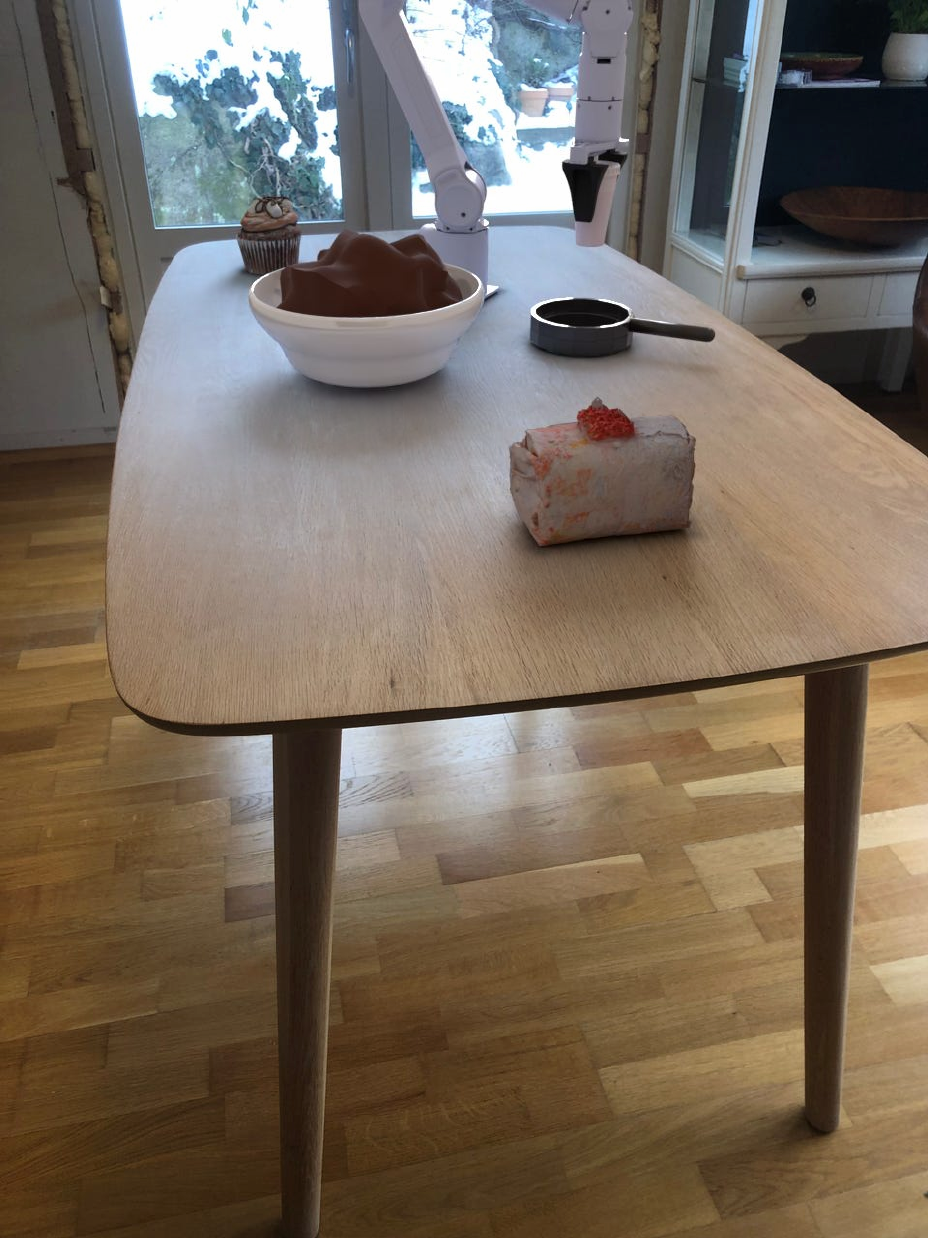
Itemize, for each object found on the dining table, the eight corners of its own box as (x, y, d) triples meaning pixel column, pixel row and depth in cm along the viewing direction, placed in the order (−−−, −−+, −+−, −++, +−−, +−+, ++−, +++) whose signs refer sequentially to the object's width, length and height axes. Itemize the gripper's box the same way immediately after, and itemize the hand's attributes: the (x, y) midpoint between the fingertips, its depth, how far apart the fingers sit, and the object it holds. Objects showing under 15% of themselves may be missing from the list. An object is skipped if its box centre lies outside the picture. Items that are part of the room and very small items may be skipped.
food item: (528, 557, 73) (533, 436, 67) (503, 509, 79) (505, 395, 74) (695, 538, 75) (714, 420, 69) (657, 493, 81) (671, 382, 76)
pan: (514, 349, 113) (515, 319, 111) (550, 320, 122) (552, 292, 120) (613, 364, 108) (616, 333, 106) (643, 333, 117) (646, 304, 116)
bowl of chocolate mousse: (212, 374, 106) (190, 230, 97) (377, 323, 121) (371, 195, 112) (363, 435, 92) (353, 273, 83) (529, 370, 107) (535, 227, 98)
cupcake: (251, 258, 148) (243, 189, 142) (312, 261, 147) (306, 191, 141) (230, 275, 140) (220, 202, 135) (294, 277, 139) (287, 203, 133)
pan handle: (622, 332, 111) (623, 318, 111) (626, 328, 113) (627, 315, 112) (712, 344, 108) (714, 330, 107) (715, 340, 109) (717, 326, 108)
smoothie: (613, 238, 129) (623, 122, 121) (615, 249, 124) (625, 129, 116) (565, 237, 130) (572, 122, 122) (565, 248, 124) (572, 129, 117)
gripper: (613, 106, 110) (603, 230, 118) (647, 94, 121) (636, 208, 129) (556, 103, 113) (550, 225, 120) (594, 92, 124) (586, 204, 131)
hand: (591, 216), depth 125 cm, fingers closed on smoothie, 6 cm apart
